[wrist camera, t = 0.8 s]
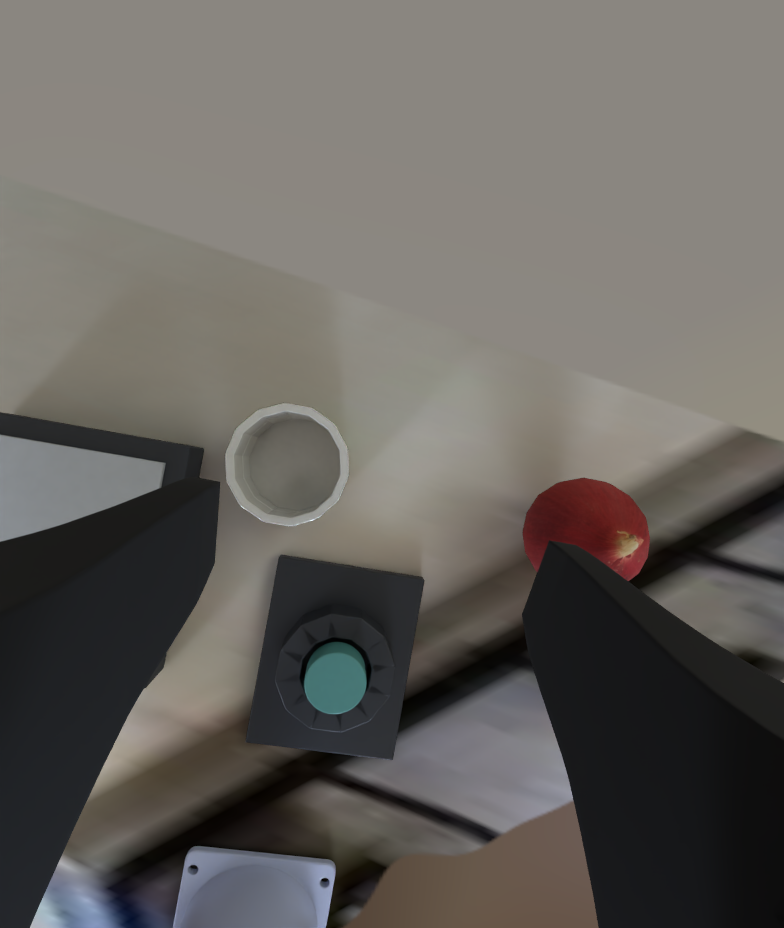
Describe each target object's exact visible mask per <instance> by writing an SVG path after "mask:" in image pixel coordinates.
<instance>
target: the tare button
mask: <svg viewBox="0 0 784 928" xmlns="http://www.w3.org/2000/svg"><path fill="white" fill-rule="evenodd" d="M366 684H367V679H366V670H365V663H364V660H363V658H362V656H361V654H360V653H359V652H358V650H357V649H355V648H354V647H353V646H351V645H349V644H347V643H343V642H331V643H327V644H325V645H323V646H321V647H319V648H318V649H317V650H316V651H315V652H314V653H313V654H312V656H311V657H310V659H309V661H308V664H307V668H306V674H305V680H304V689H305V693H306V696H307V698H308V700H309V702H310V703H311V704H312V705H313V706H314V707H315V708H316V709H318V710H320V711H322V712H324V713H328V714H341V713H344V712H347V711H349V710H351V709H352V708H354V707H355V706H356V705H357V704H358V703H359V702H360V700H361V699H362V697H363V695H364V693H365V690H366Z"/></svg>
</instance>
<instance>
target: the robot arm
mask: <svg viewBox="0 0 784 928" xmlns="http://www.w3.org/2000/svg"><path fill="white" fill-rule="evenodd" d="M219 493H220V482H217V481H212V480H206V479H200V478H195V477H189V478H185V479H182V480H179V481H176V482H174V483H171V484H169V485H166V486H163V487H161V488H158V489H156V490H153V491H151V492H149V493H146V494H144V495H141V496H138V497H136V498H133V499H131V500H128V501H126V502H123V503H121V504H118V505H116V506H113V507H110V508H108V509H105V510H102V511H99V512H96V513H93V514H90V515H88V516H85V517H82V518H79V519H76V520H73V521H70V522H68V523H65V524H62V525H58V526H55V527H52V528H49V529H45V530H42V531H38V532H35V533H31V534H28V535H24V536H20V537H16V538H12V539H9V540H5V541H1V542H0V928H30V926H31V923H32V921H33V919H34V916H35V914H36V912H37V909H38V907H39V905H40V902H41V900H42V898H43V896H44V893H45V891H46V889H47V887H48V884H49V882H50V880H51V878H52V876H53V873H54V871H55V869H56V867H57V864H58V862H59V860H60V858H61V856H62V853H63V851H64V849H65V847H66V844H67V842H68V840H69V838H70V835H71V833H72V831H73V829H74V827H75V824H76V822H77V820H78V818H79V816H80V814H81V812H82V810H83V808H84V805H85V803H86V801H87V799H88V797H89V795H90V793H91V791H92V788H93V786H94V784H95V782H96V780H97V778H98V776H99V774H100V771H101V769H102V767H103V765H104V763H105V761H106V759H107V757H108V755H109V753H110V751H111V749H112V747H113V745H114V743H115V741H116V739H117V737H118V735H119V733H120V731H121V729H122V727H123V725H124V723H125V721H126V719H127V717H128V715H129V713H130V711H131V709H132V708H133V706H134V704H135V702H136V701H137V699H138V697H139V695H140V694H141V692H142V690H143V689H144V687H145V686H146V684H147V682H148V681H149V679H150V678H151V676H152V674H153V673H154V671H155V670H156V668H157V666H158V665H159V663H160V662H161V660H162V658H163V657H164V655H165V654H166V652H167V651H168V649H169V647H170V646H171V644H172V643H173V641H174V639H175V638H176V636H177V635H178V633H179V631H180V630H181V628H182V627H183V625H184V623H185V622H186V620H187V618H188V617H189V615H190V614H191V612H192V610H193V609H194V607H195V605H196V604H197V602H198V600H199V597H200V595H201V593H202V591H203V589H204V587H205V584H206V582H207V580H208V577H209V575H210V573H211V570H212V568H213V566H214V564H215V550H216V536H217V521H218V507H219ZM522 617H523V624H524V630H525V636H526V642H527V647H528V652H529V657H530V660H531V663H532V666H533V669H534V673H535V676H536V679H537V682H538V685H539V688H540V691H541V694H542V697H543V700H544V703H545V706H546V709H547V712H548V715H549V718H550V721H551V724H552V727H553V730H554V733H555V736H556V739H557V742H558V745H559V748H560V751H561V754H562V757H563V761H564V764H565V767H566V771H567V774H568V778H569V782H570V786H571V791H572V795H573V800H574V804H575V808H576V813H577V817H578V822H579V826H580V831H581V836H582V841H583V846H584V851H585V856H586V861H587V866H588V871H589V876H590V880H591V885H592V891H593V896H594V902H595V908H596V914H597V920H598V926H599V928H784V683H782V682H781V681H779V680H777V679H775V678H773V677H772V676H770V675H768V674H766V673H764V672H763V671H761V670H759V669H757V668H756V667H754V666H752V665H751V664H749V663H747V662H746V661H744V660H742V659H741V658H739V657H737V656H736V655H734V654H732V653H731V652H729V651H727V650H726V649H724V648H722V647H721V646H719V645H718V644H716V643H715V642H713V641H712V640H710V639H708V638H707V637H705V636H704V635H702V634H701V633H699V632H698V631H696V630H695V629H694V628H692V627H691V626H689V625H688V624H686V623H685V622H683V621H682V620H680V619H679V618H677V617H676V616H675V615H673V614H672V613H670V612H669V611H668V610H666V609H665V608H663V607H662V606H661V605H659V604H658V603H656V602H655V601H654V600H652V599H651V598H650V597H648V596H647V595H646V594H644V593H643V592H642V591H640V590H639V589H638V588H636V587H635V586H634V585H632V584H631V583H630V582H628V581H627V580H626V579H624V578H623V577H622V576H620V575H619V574H618V573H616V572H615V571H614V570H612V569H611V568H610V567H608V566H607V565H606V564H604V563H603V562H601V561H600V560H599V559H597V558H596V557H594V556H593V555H591V554H590V553H589V552H587V551H585V550H584V549H582V548H580V547H579V546H577V545H573V544H567V543H562V542H556V541H550V540H549V542H548V545H547V547H546V550H545V553H544V556H543V558H542V561H541V564H540V567H539V569H538V572H537V575H536V578H535V580H534V583H533V586H532V589H531V591H530V594H529V597H528V600H527V602H526V605H525V608H524V611H523V613H522ZM191 865H196V866H197V867H198V868H197V869H193V868H192V867H191ZM335 870H336V869H335V864H334V862H333V861H332V860H329V859H320V858H310V857H301V856H291V855H281V854H272V853H262V852H252V851H243V850H233V849H223V848H214V847H204V846H194V847H192V848H191V849H190V850H189V851H188V853H187V856H186V858H185V863H184V869H183V874H182V880H181V885H180V891H179V896H178V902H177V907H176V913H175V918H174V924H173V928H326V924H327V918H328V913H329V907H330V901H331V896H332V890H333V885H334V879H335ZM323 878H327V879H328V881H325V882H323V881H321V879H323Z"/></svg>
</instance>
